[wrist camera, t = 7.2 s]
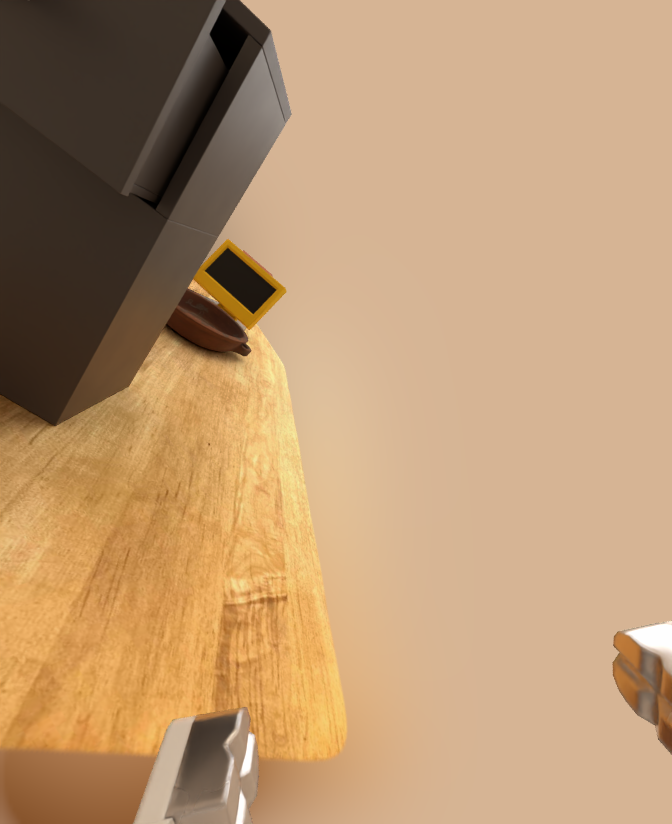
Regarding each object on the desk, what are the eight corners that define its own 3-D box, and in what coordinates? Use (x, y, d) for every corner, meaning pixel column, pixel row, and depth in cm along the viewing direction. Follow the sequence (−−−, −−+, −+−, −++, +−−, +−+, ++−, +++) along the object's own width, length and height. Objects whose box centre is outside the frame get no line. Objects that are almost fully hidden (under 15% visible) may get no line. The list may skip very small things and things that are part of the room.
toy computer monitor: (183, 287, 87) (217, 230, 83) (204, 294, 95) (236, 242, 90) (239, 339, 84) (278, 283, 80) (257, 342, 91) (293, 290, 87)
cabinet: (54, 426, 31) (271, 30, 22) (-149, 307, 27) (10, -224, 18) (128, 386, 42) (291, 113, 33) (-9, 298, 39) (132, -34, 30)
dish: (244, 379, 67) (259, 358, 65) (121, 310, 56) (136, 283, 55) (243, 346, 81) (255, 329, 80) (145, 286, 71) (157, 265, 70)
